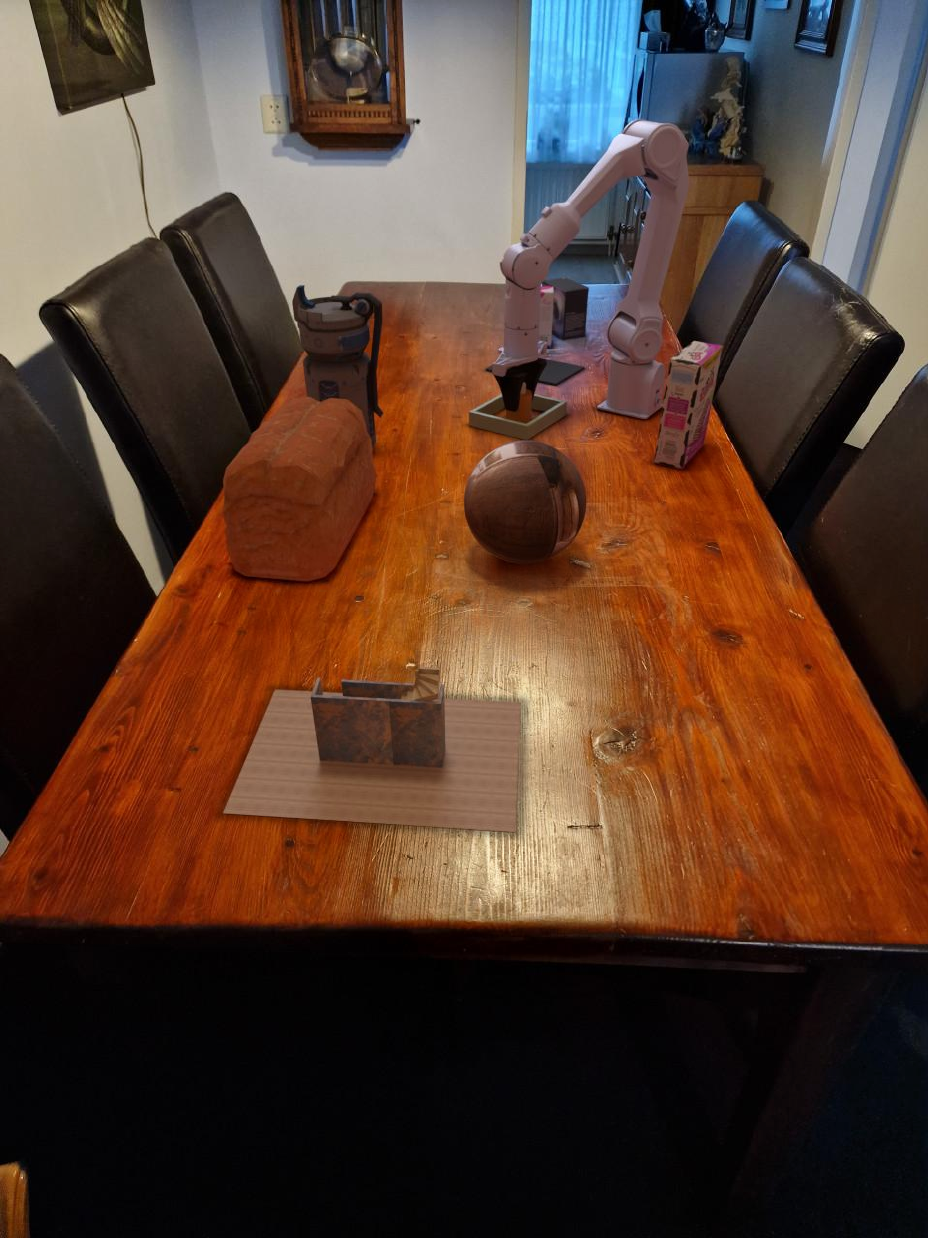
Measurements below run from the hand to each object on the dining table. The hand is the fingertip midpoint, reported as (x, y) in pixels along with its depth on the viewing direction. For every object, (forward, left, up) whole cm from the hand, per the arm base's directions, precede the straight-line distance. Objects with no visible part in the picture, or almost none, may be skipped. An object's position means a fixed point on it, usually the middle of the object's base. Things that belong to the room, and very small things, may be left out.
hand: (518, 405), depth 140 cm
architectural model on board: (-31, +77, -3) cm, 83 cm away
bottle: (0, 0, -3) cm, 3 cm away
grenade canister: (+16, +26, -3) cm, 31 cm away
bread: (+4, +49, -3) cm, 49 cm away
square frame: (0, 0, -3) cm, 3 cm away
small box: (+19, -51, -3) cm, 54 cm away
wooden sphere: (-24, +39, -3) cm, 46 cm away
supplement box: (+19, -40, -3) cm, 44 cm away
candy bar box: (-29, -2, -3) cm, 29 cm away
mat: (+11, -25, -3) cm, 27 cm away
